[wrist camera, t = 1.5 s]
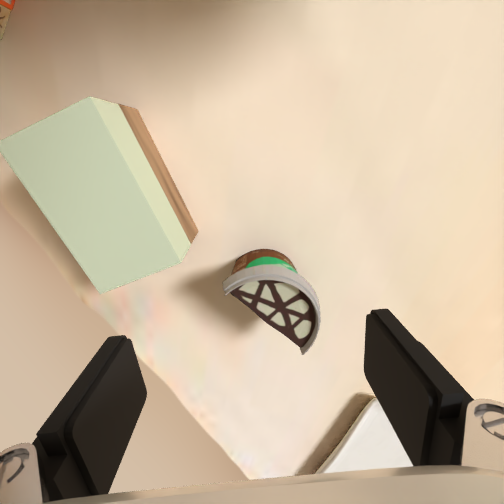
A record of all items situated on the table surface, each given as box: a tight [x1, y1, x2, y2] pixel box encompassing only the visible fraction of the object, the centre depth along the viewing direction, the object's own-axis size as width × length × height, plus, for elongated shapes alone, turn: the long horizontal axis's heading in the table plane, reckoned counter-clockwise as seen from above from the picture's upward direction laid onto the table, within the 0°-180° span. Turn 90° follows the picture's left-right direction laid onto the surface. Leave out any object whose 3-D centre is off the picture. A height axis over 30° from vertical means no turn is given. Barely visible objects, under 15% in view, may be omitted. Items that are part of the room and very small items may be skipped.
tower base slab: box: [118, 104, 198, 244], centre depth 31 cm, size 9×15×5 cm, turn 22°
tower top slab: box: [0, 96, 191, 294], centre depth 26 cm, size 9×15×5 cm, turn 22°
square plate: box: [315, 397, 413, 474], centre depth 51 cm, size 27×27×4 cm
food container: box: [223, 249, 320, 355], centre depth 32 cm, size 12×6×10 cm, turn 47°
